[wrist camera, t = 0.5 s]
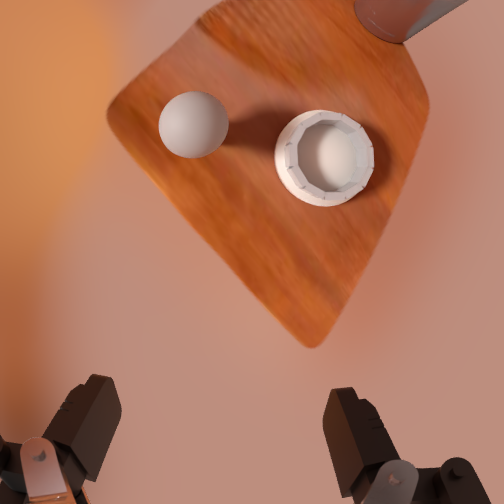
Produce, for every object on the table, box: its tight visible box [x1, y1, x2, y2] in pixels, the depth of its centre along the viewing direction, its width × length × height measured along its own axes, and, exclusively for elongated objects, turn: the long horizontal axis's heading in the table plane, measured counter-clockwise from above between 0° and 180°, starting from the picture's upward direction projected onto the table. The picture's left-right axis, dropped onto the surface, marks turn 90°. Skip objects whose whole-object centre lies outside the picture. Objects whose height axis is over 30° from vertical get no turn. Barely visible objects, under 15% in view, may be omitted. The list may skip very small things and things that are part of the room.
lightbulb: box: [159, 91, 229, 158], centre depth 25 cm, size 6×6×11 cm
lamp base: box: [274, 110, 374, 206], centre depth 29 cm, size 11×11×5 cm
